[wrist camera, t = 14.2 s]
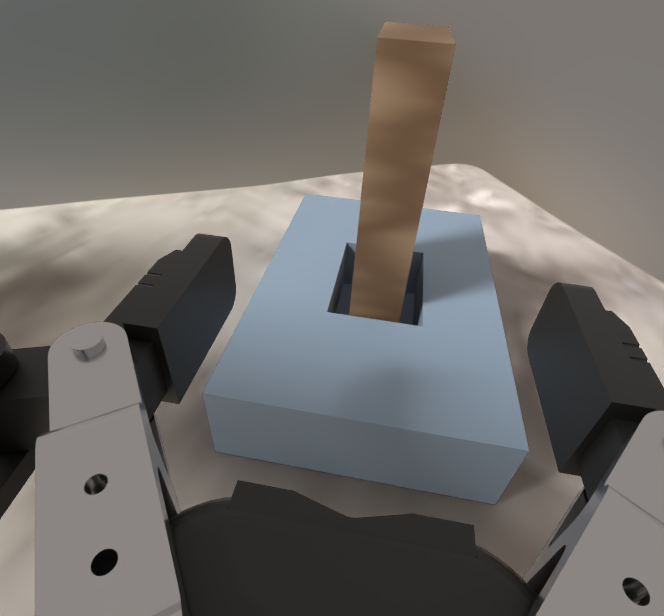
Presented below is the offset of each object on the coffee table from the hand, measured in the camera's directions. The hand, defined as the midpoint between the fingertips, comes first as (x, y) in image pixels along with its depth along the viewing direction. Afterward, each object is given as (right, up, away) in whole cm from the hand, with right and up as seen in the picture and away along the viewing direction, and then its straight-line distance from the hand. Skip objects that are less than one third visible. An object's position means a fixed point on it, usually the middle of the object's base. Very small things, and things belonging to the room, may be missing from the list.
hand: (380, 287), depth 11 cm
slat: (+1, -1, +13) cm, 14 cm away
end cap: (+1, -2, +14) cm, 14 cm away
